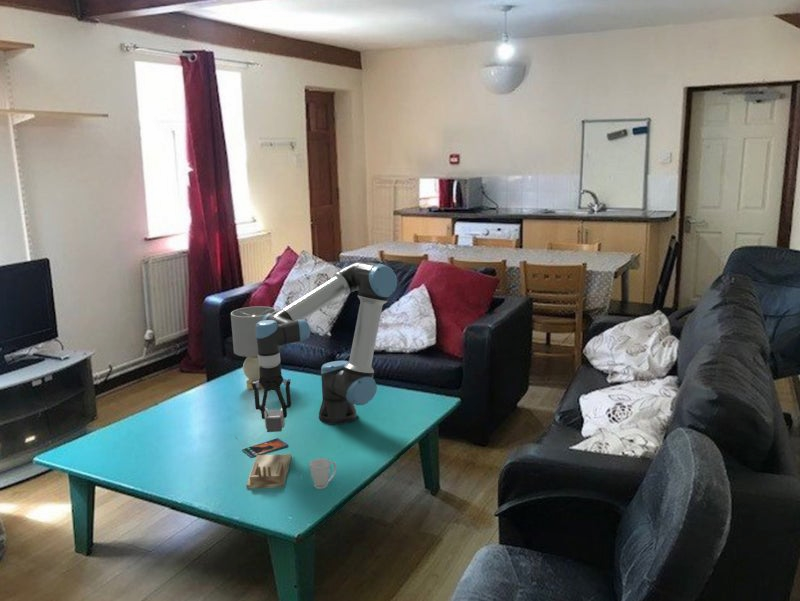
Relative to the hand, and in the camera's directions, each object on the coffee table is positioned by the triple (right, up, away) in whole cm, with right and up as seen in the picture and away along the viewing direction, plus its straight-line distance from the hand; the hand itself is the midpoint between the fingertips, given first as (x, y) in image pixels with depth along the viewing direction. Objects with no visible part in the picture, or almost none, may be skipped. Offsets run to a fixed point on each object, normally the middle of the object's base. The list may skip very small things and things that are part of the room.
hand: (275, 426), depth 248 cm
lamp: (-20, +5, +71) cm, 74 cm away
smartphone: (-5, -10, +6) cm, 12 cm away
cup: (+20, -15, -22) cm, 33 cm away
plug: (0, 0, 0) cm, 0 cm away
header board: (0, -13, -13) cm, 18 cm away
